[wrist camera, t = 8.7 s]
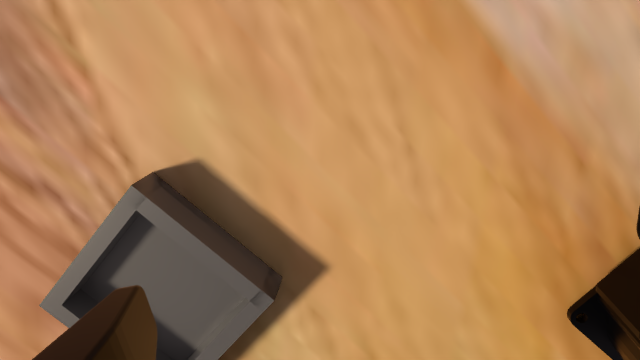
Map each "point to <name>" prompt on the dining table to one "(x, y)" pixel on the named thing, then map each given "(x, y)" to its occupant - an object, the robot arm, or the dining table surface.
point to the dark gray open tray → (169, 273)
